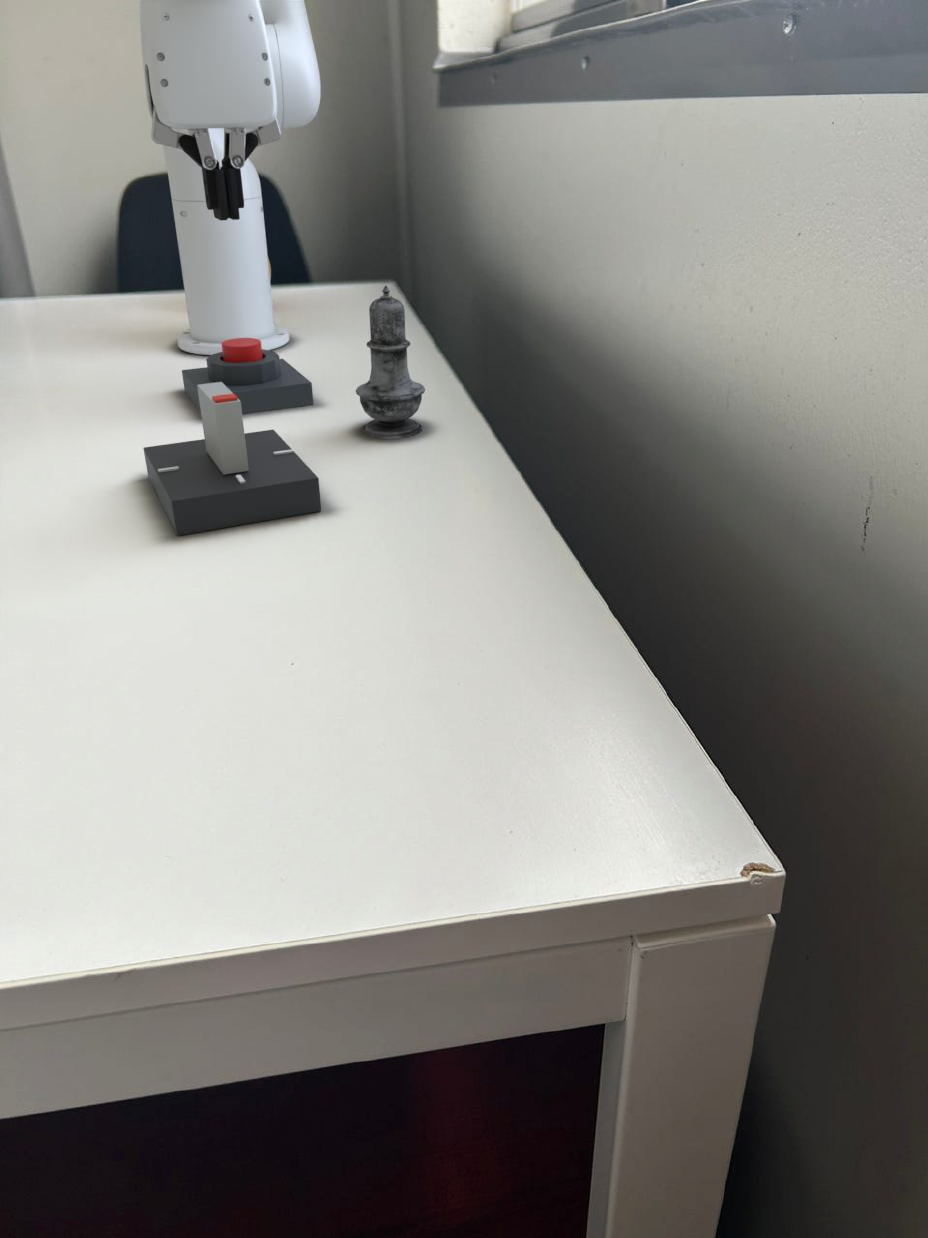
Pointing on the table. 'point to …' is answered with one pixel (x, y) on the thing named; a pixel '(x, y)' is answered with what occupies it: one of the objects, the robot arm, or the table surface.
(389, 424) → the salt shaker
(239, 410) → the timer knob
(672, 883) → the table surface
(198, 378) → the stop housing
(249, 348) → the stop button
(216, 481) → the dark grey base block
